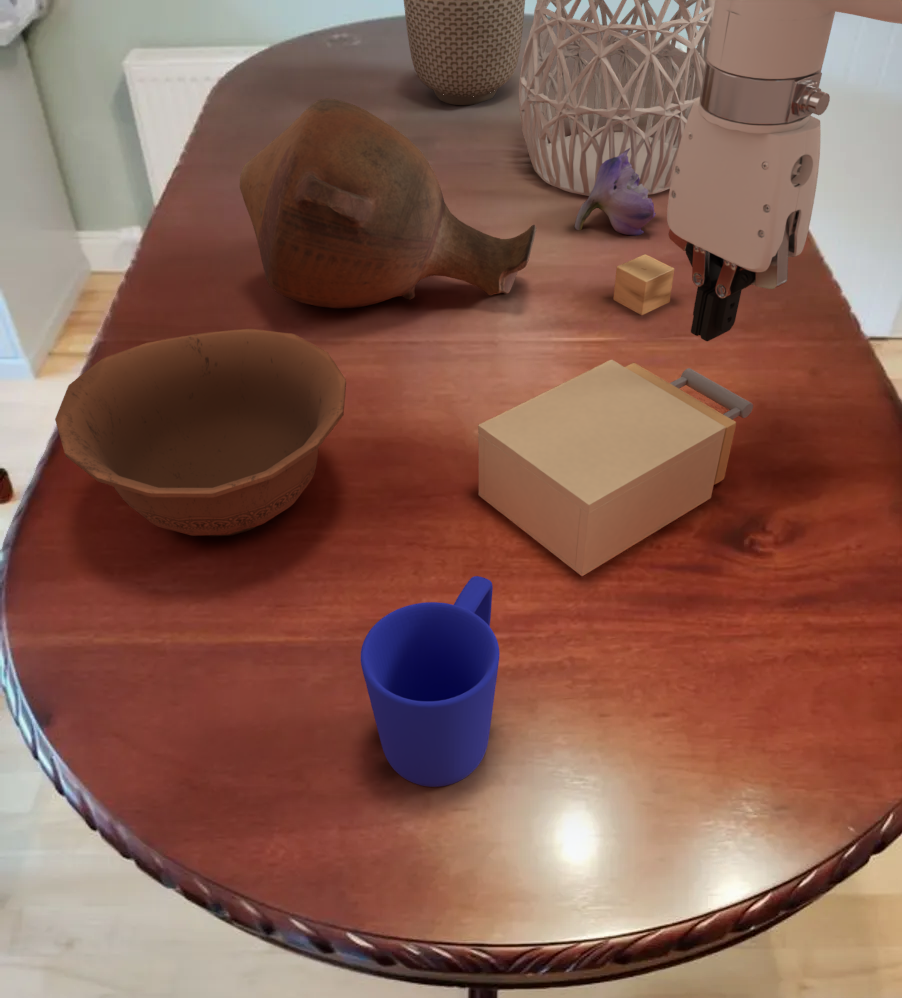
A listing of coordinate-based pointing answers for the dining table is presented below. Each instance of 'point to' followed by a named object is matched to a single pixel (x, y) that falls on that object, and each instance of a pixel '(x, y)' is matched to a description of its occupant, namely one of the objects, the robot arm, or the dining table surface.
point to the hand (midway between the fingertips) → (711, 331)
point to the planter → (464, 45)
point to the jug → (362, 215)
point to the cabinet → (598, 463)
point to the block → (643, 284)
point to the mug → (434, 685)
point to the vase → (609, 91)
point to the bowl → (205, 426)
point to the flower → (619, 197)
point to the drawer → (711, 391)
